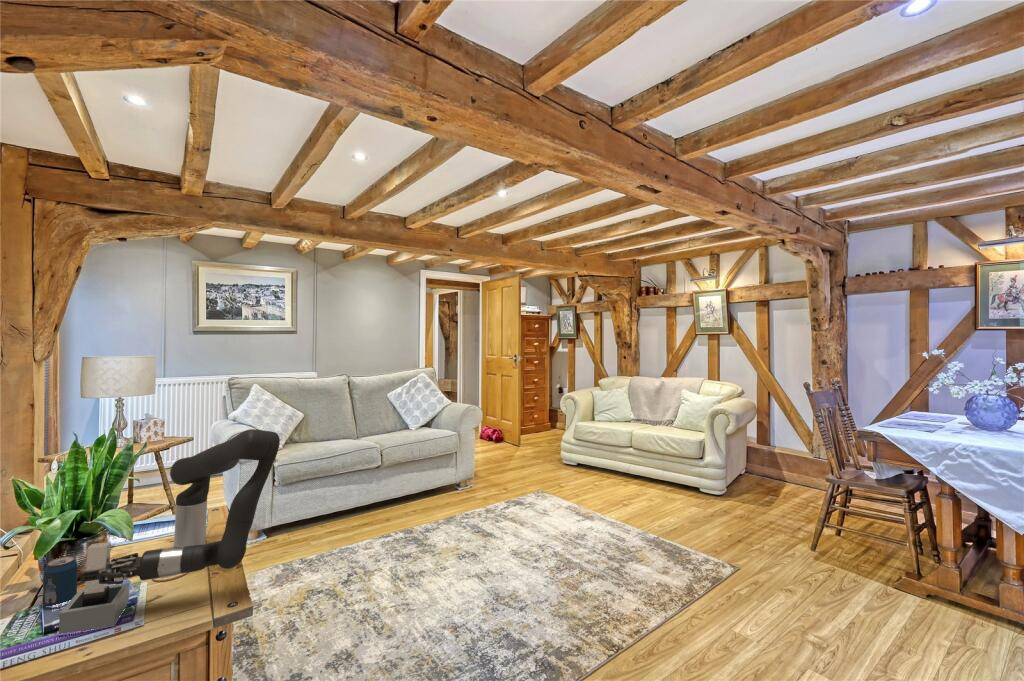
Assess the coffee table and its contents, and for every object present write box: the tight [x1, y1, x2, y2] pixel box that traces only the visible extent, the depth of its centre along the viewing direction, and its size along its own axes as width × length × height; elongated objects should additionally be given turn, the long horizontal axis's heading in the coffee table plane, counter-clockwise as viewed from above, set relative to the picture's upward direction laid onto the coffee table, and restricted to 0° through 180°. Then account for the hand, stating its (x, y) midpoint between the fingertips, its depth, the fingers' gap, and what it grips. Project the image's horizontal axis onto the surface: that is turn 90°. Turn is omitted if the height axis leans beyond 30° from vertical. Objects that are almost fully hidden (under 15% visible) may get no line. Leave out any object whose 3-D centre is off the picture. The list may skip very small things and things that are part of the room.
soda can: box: [41, 555, 79, 607], centre depth 129 cm, size 7×7×12 cm
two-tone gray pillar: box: [82, 541, 112, 607], centre depth 122 cm, size 3×4×16 cm
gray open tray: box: [58, 583, 130, 635], centre depth 122 cm, size 11×11×6 cm
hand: (84, 574), depth 121 cm, fingers closed on two-tone gray pillar, 3 cm apart
